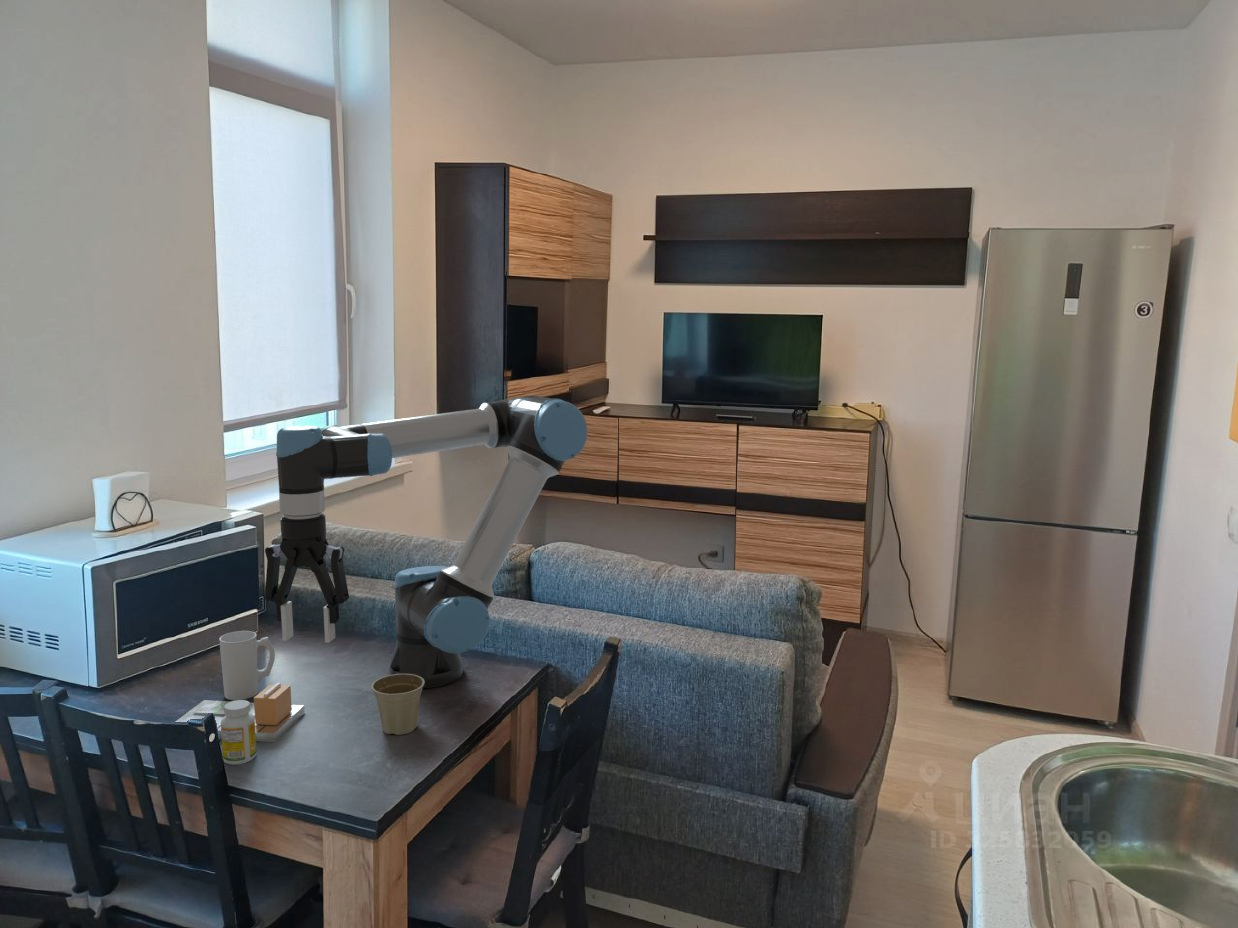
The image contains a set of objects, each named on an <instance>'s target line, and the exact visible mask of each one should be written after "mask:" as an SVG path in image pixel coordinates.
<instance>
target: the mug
mask: <svg viewBox="0 0 1238 928" xmlns="http://www.w3.org/2000/svg"><path fill="white" fill-rule="evenodd" d="M257 635H258V634H257V633H256V632H255V631H251V630H238V631H237V630H236V631H232V632H228V633H225V634H223V635H221V636H220V637H218V638H219V649H220V653H219V654H220V660H221V661H220V662H221V673H222V683H223V685H222V686H223V693H224V698H225V699H226V700H230V701H236V700H248V699H250V698H254V697H255V696H256V695H258V694H259V680H260V679H261V678H265V677H269V676H270V675H271V672H272V669H273V665H274V663H275V659H276V650H275V648H274V646H273V644H272V643H271V641H270V639H269V637H268V636H265V637H261V638H260V639H258V640H257ZM259 647H265V648H266V649H267V651H268V652H269V653H268V654H269V657H268V662H267V664H266V666H265V667H264V668H263V669H259V667H258V649H259Z"/></svg>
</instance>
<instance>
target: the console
mask: <svg viewBox="0 0 1238 928" xmlns="http://www.w3.org/2000/svg"><path fill="white" fill-rule="evenodd" d="M229 702H231V700H230V701H227V700H211V699H210V700H207V699H204V700H202V701H201V702H200V703H198V704H197V705H196V706H194V707H193V708H191V709H190V710H189V711H187V712H186V713H185V714H183V715H182V716H181V717H179V718H178V719H176V721H174V722H187V721H188V720H190V719H202V718H204V717H205V716H206V715H207V714H208V713H213V714H214V716H215V720H216V723H217V729H218V735H219V738H220V739H219V740H222V737H221V720H222V719H223V717H224V716H226V715H225V713H224V706H225V705H226V704H227V703H229ZM249 703H250V711H249V712H250V713H252V714H253V715H254V717H255V710H254V702H249ZM291 705H292V711H291V712H290V713H289V714H288V715H287V716H286V717H285V718H284V719H283V720H282V721H280V722H279V723H278V724H277V725H265V724H255V734H256V742H263V743H264V742H267V743H276V741H277V740H278V739H280V737H282V736H283V735H284V734H285V733H286V732H287V730H288V729H290V728H291V727H292V726H293V725H294V724H295V723H296V722H298V720H299V719H301V717H303V715H304V714H305V705H304V704H291Z"/></svg>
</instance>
